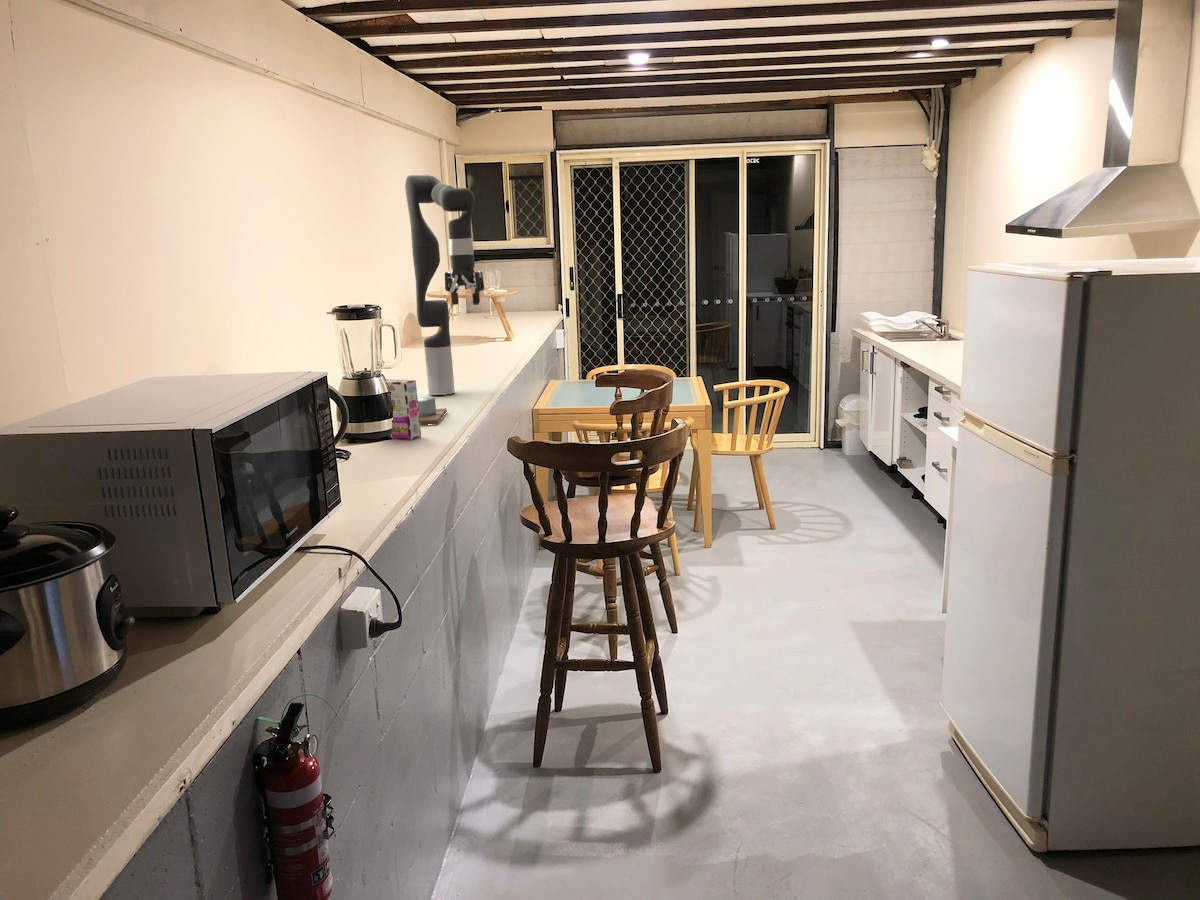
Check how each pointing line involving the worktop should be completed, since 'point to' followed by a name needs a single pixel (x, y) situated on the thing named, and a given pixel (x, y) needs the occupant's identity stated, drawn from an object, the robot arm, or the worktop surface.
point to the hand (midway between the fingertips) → (465, 304)
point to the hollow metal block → (426, 407)
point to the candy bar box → (404, 409)
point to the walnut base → (433, 417)
